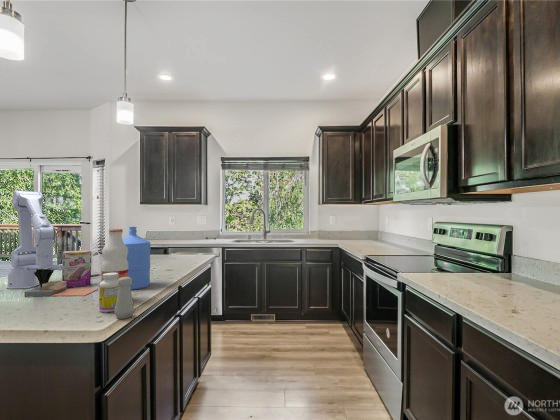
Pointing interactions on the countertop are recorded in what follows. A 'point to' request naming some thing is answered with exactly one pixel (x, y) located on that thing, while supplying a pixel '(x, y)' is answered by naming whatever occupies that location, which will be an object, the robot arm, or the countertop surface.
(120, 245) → the fruit juice
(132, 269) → the water jug
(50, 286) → the oak tile
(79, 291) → the mat
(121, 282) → the salt shaker
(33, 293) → the grey square tile
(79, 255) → the candy bar box
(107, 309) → the supplement bottle
